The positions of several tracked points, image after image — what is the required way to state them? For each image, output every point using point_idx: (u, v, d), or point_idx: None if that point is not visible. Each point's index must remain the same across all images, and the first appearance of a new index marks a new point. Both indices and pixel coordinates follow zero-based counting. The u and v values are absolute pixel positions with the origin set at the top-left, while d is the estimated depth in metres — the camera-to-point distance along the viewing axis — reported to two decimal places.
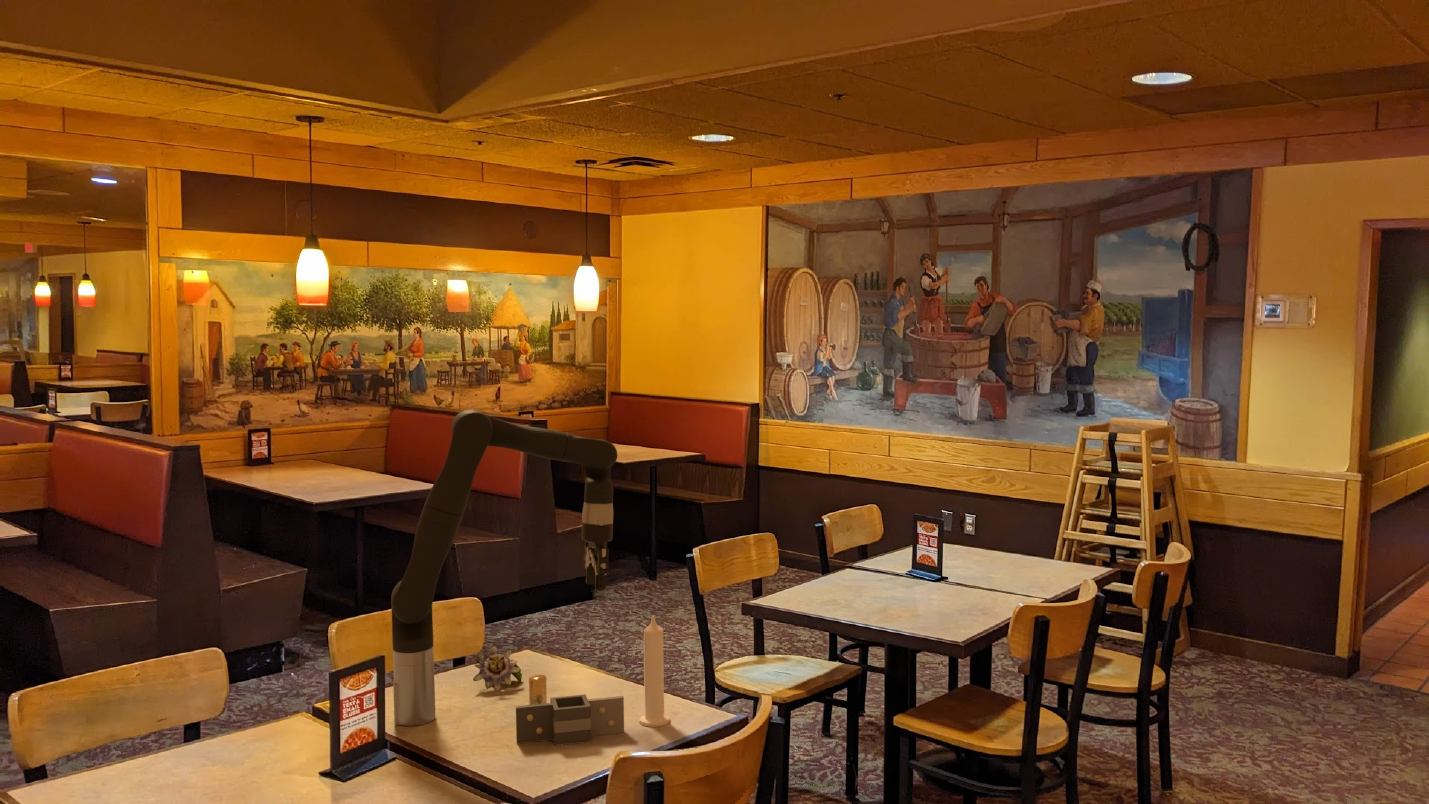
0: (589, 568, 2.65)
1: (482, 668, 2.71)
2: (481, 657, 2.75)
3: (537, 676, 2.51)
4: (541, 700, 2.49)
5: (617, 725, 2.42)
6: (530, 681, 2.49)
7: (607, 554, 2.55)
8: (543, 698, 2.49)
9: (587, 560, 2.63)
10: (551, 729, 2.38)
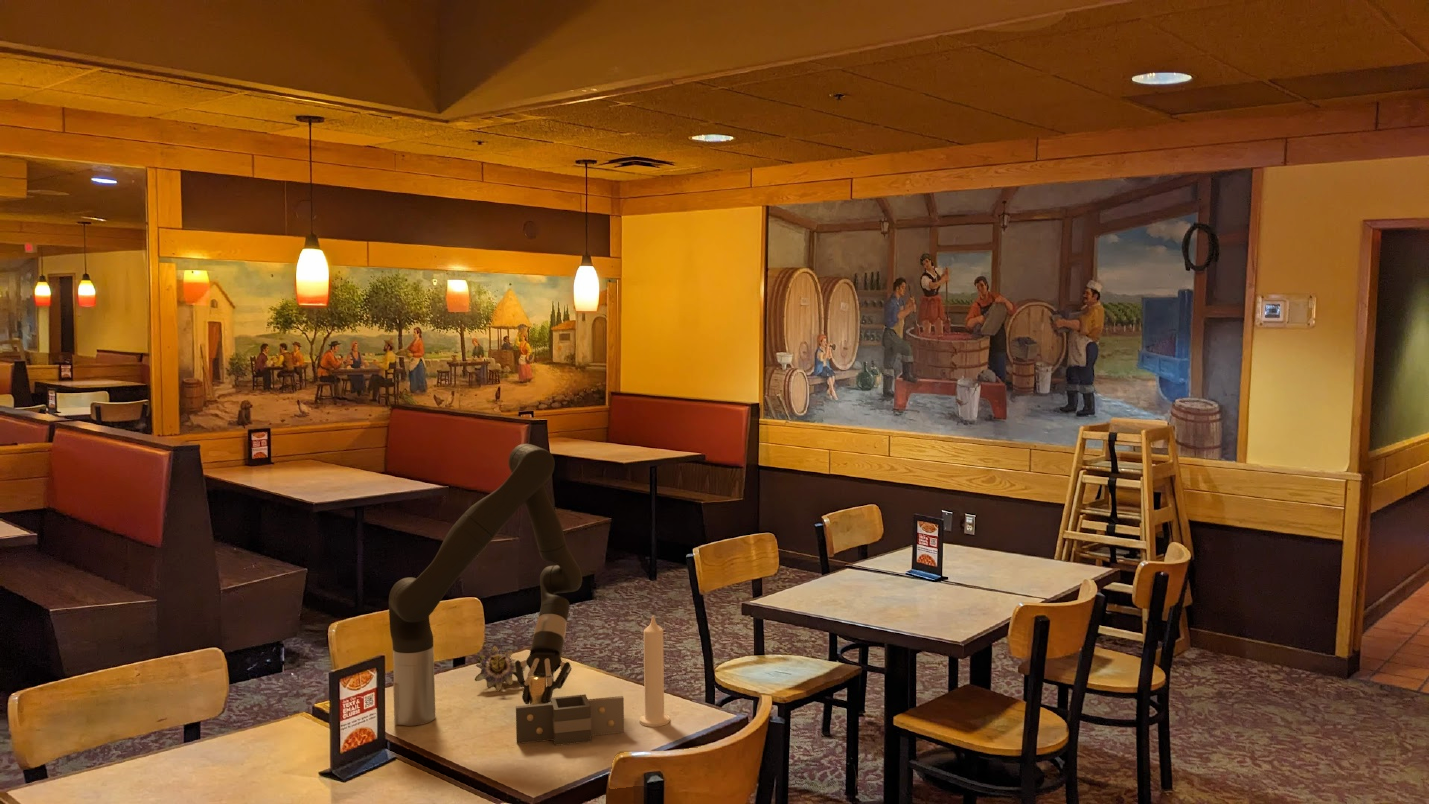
0: None
1: (483, 668, 2.71)
2: (482, 657, 2.75)
3: (537, 676, 2.51)
4: (541, 700, 2.49)
5: (617, 725, 2.42)
6: (530, 681, 2.49)
7: (569, 671, 2.54)
8: None
9: (533, 673, 2.52)
10: (551, 729, 2.38)
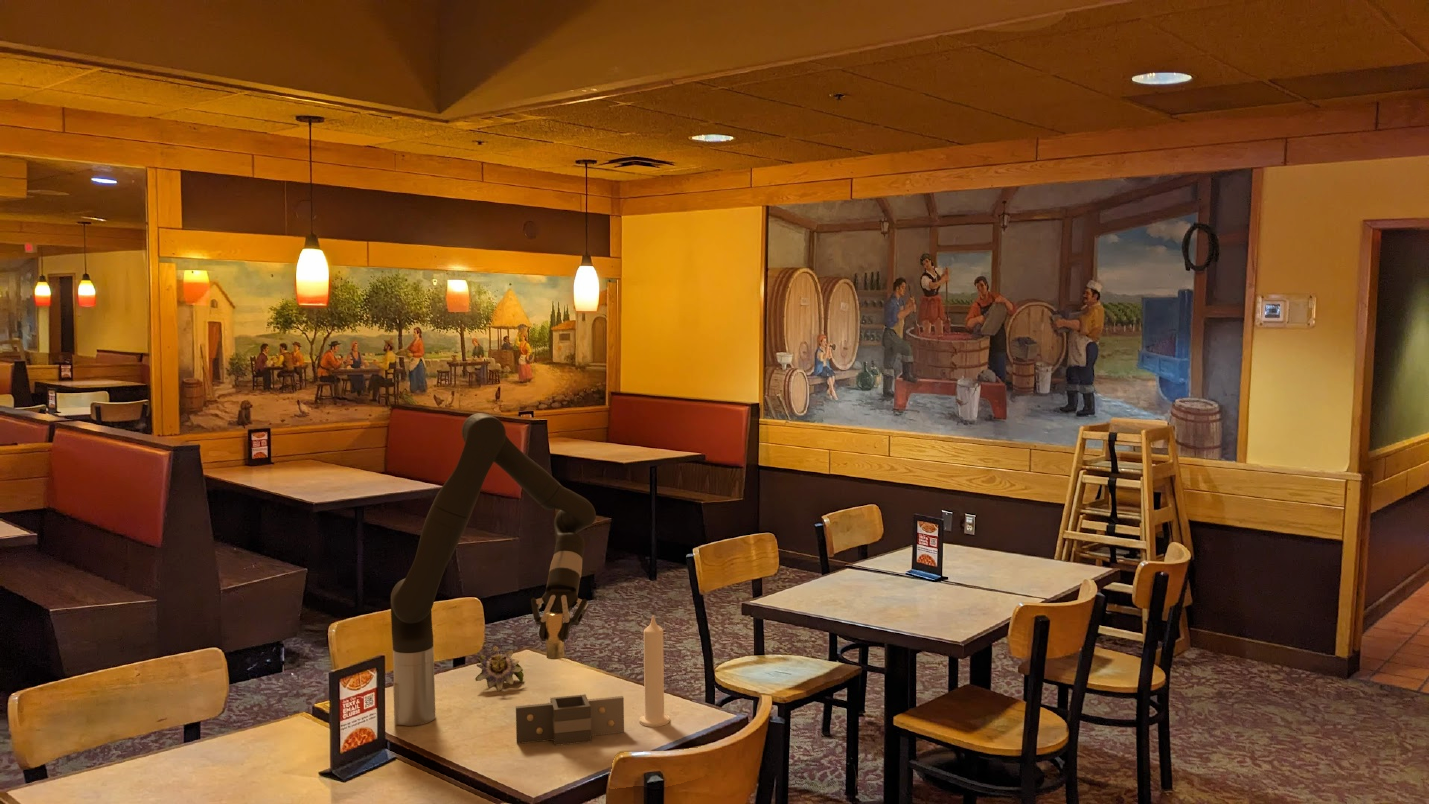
0: None
1: (484, 668, 2.71)
2: (483, 657, 2.75)
3: (554, 612, 2.45)
4: (558, 637, 2.43)
5: (617, 725, 2.42)
6: (547, 617, 2.43)
7: (586, 608, 2.48)
8: (560, 635, 2.43)
9: (550, 610, 2.46)
10: (551, 729, 2.38)
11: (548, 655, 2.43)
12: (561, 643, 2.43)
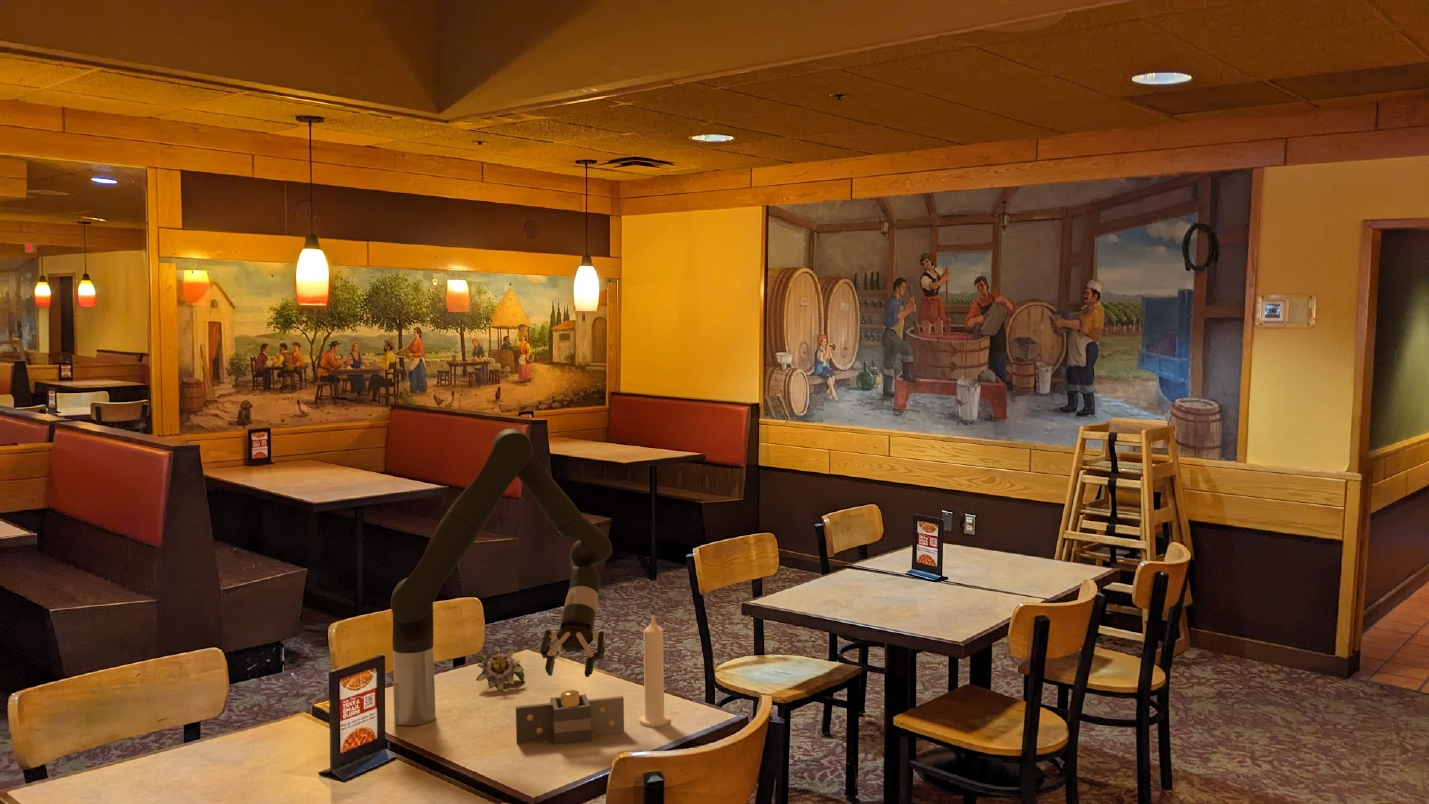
0: (552, 657, 2.40)
1: (485, 668, 2.71)
2: (484, 657, 2.75)
3: (569, 691, 2.40)
4: None
5: (617, 725, 2.42)
6: (562, 697, 2.38)
7: (604, 640, 2.43)
8: None
9: (560, 646, 2.41)
10: (551, 729, 2.38)
11: None
12: None
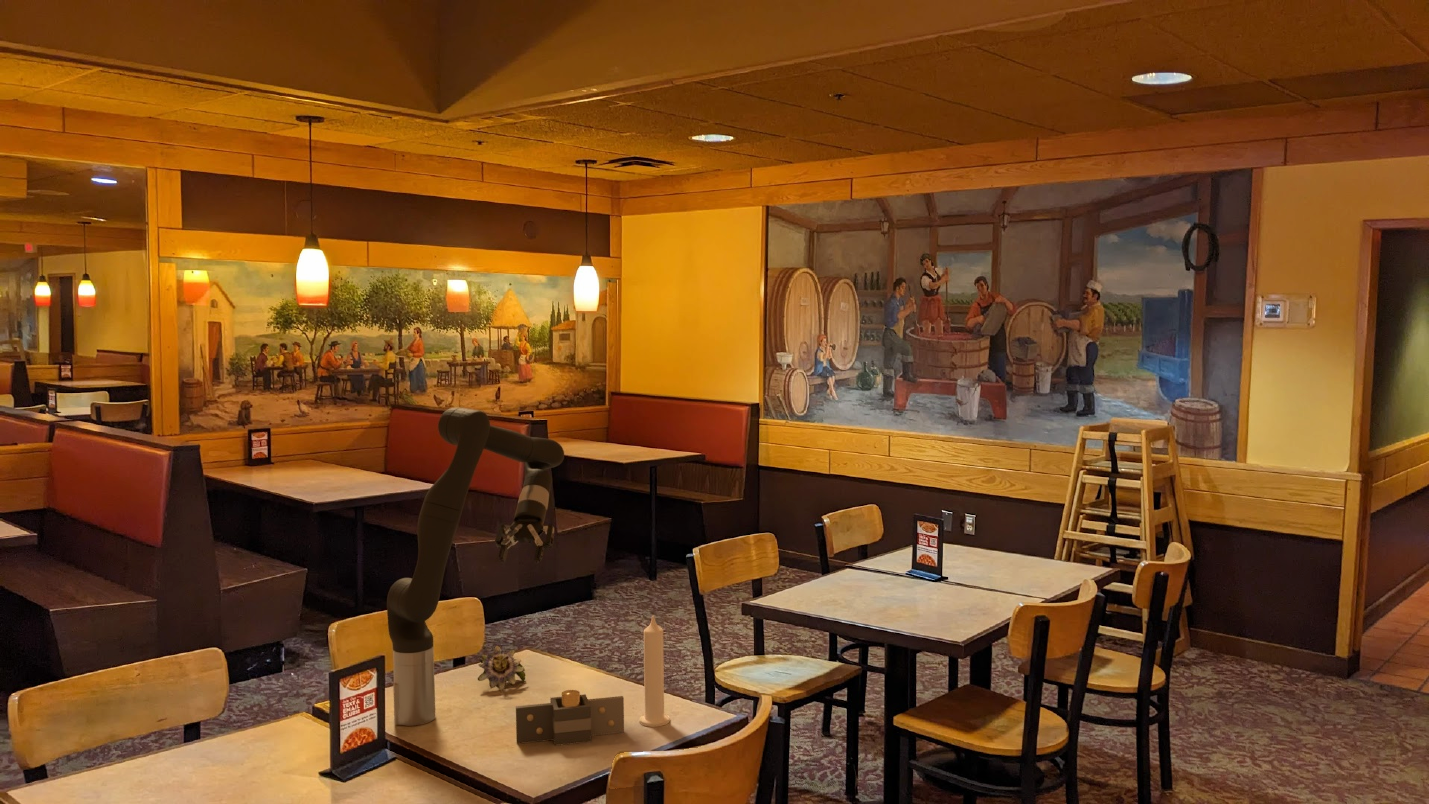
0: (506, 546, 2.65)
1: (486, 668, 2.71)
2: (485, 657, 2.75)
3: (570, 691, 2.40)
4: None
5: (617, 725, 2.42)
6: (563, 696, 2.38)
7: (553, 532, 2.68)
8: None
9: (512, 536, 2.65)
10: (551, 729, 2.38)
11: None
12: None
